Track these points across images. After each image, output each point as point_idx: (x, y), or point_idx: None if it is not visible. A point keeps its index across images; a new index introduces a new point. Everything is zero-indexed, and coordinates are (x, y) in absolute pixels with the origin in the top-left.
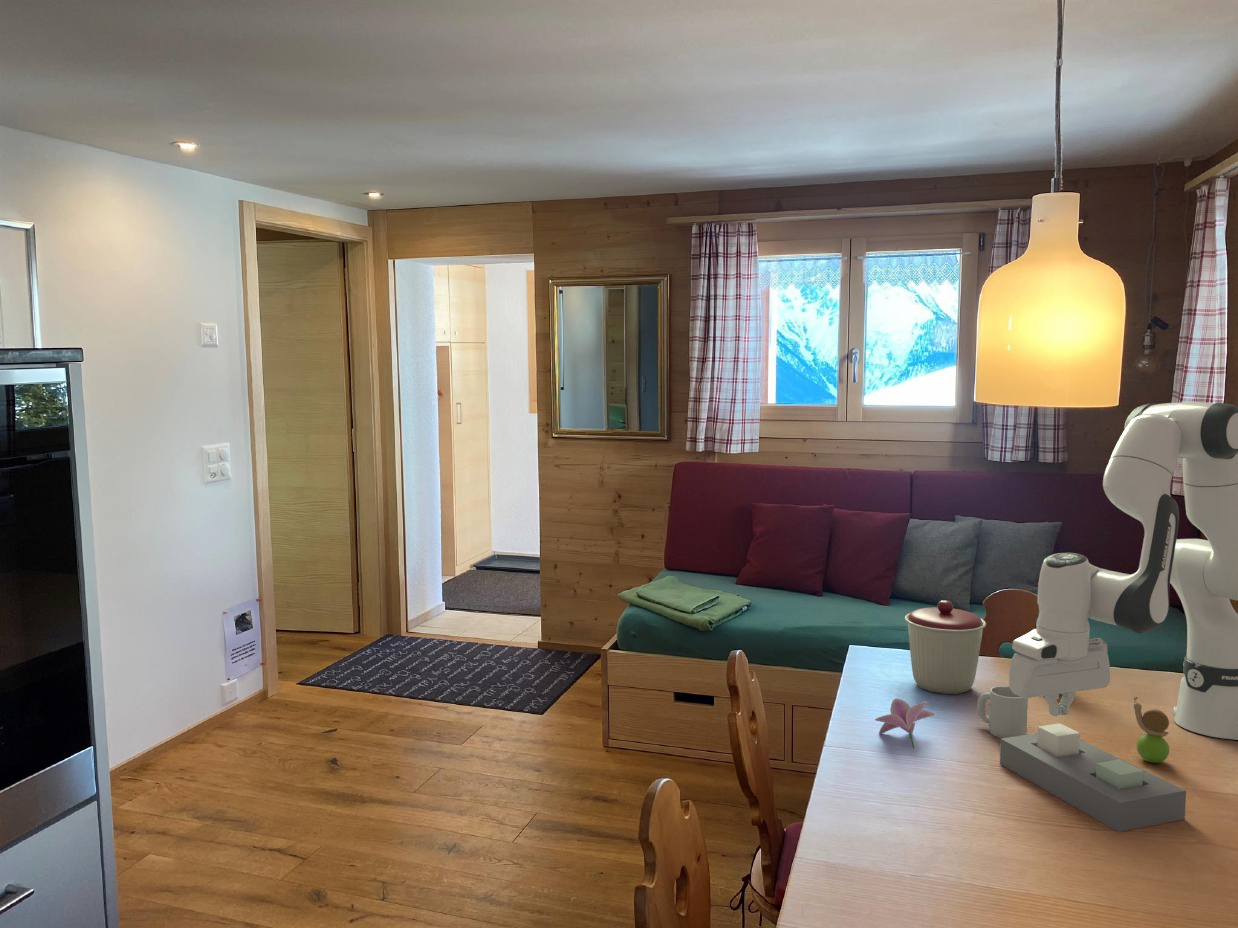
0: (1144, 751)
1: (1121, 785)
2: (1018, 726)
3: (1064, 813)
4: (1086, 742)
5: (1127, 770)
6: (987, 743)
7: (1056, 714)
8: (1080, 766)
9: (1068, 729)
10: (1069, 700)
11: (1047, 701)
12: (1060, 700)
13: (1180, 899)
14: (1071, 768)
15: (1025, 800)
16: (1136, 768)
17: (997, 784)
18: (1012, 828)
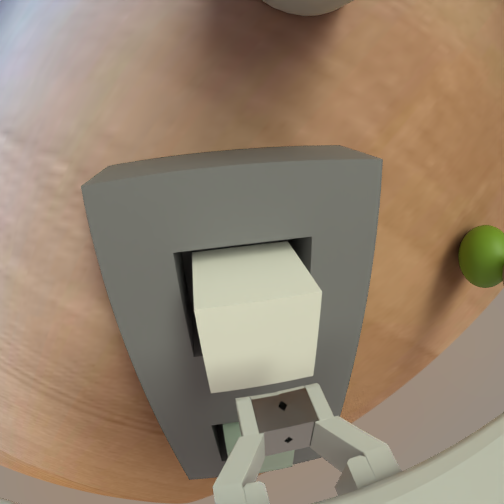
0: (465, 266)
1: None
2: (310, 3)
3: (132, 399)
4: (369, 278)
5: (264, 467)
6: (172, 10)
7: (240, 431)
8: (219, 402)
9: (301, 349)
10: (334, 466)
11: (230, 454)
12: (327, 430)
13: (164, 495)
14: (188, 405)
15: (80, 354)
16: (289, 462)
17: (47, 284)
18: (36, 406)
